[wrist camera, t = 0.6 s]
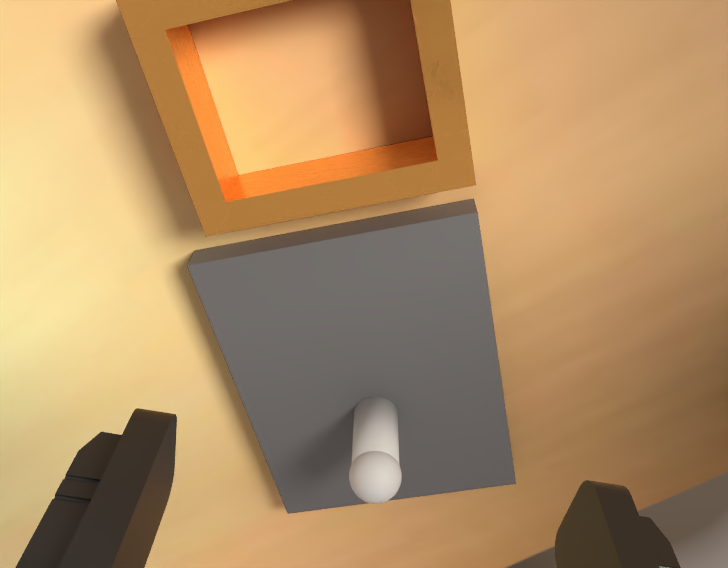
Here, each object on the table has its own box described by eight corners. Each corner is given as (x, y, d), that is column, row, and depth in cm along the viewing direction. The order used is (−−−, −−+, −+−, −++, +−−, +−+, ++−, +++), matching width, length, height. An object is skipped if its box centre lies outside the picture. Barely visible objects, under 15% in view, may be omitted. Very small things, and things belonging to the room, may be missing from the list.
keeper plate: (473, 198, 32) (496, 277, 25) (511, 464, 41) (535, 570, 35) (194, 250, 33) (152, 336, 27) (290, 494, 43) (275, 600, 36)
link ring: (433, -84, 26) (439, -80, 23) (468, 159, 31) (476, 185, 28) (140, -13, 27) (115, -2, 25) (219, 207, 32) (205, 236, 30)
